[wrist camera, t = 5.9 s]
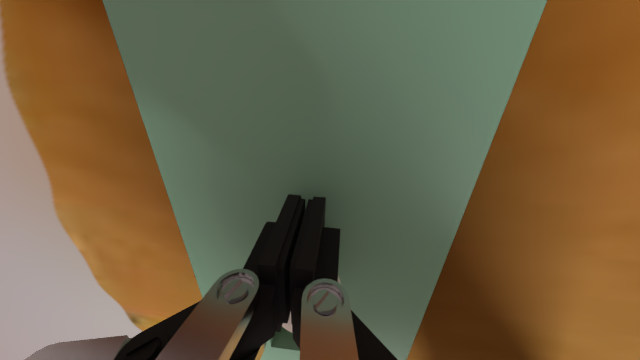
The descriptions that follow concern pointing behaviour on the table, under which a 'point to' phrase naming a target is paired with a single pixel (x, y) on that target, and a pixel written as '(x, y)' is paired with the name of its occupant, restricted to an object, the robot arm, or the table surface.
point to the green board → (325, 129)
